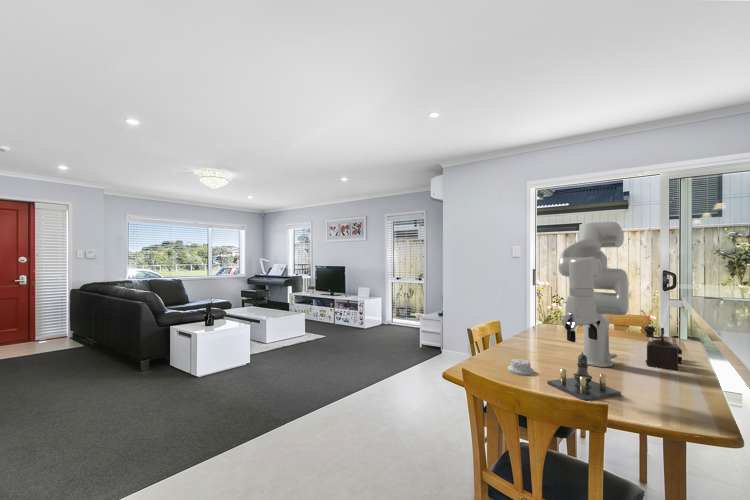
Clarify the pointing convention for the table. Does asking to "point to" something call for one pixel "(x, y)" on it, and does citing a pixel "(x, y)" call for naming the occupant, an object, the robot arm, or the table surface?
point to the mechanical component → (520, 367)
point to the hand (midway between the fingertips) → (582, 340)
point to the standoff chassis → (584, 387)
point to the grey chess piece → (582, 371)
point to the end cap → (679, 357)
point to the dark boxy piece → (661, 351)
